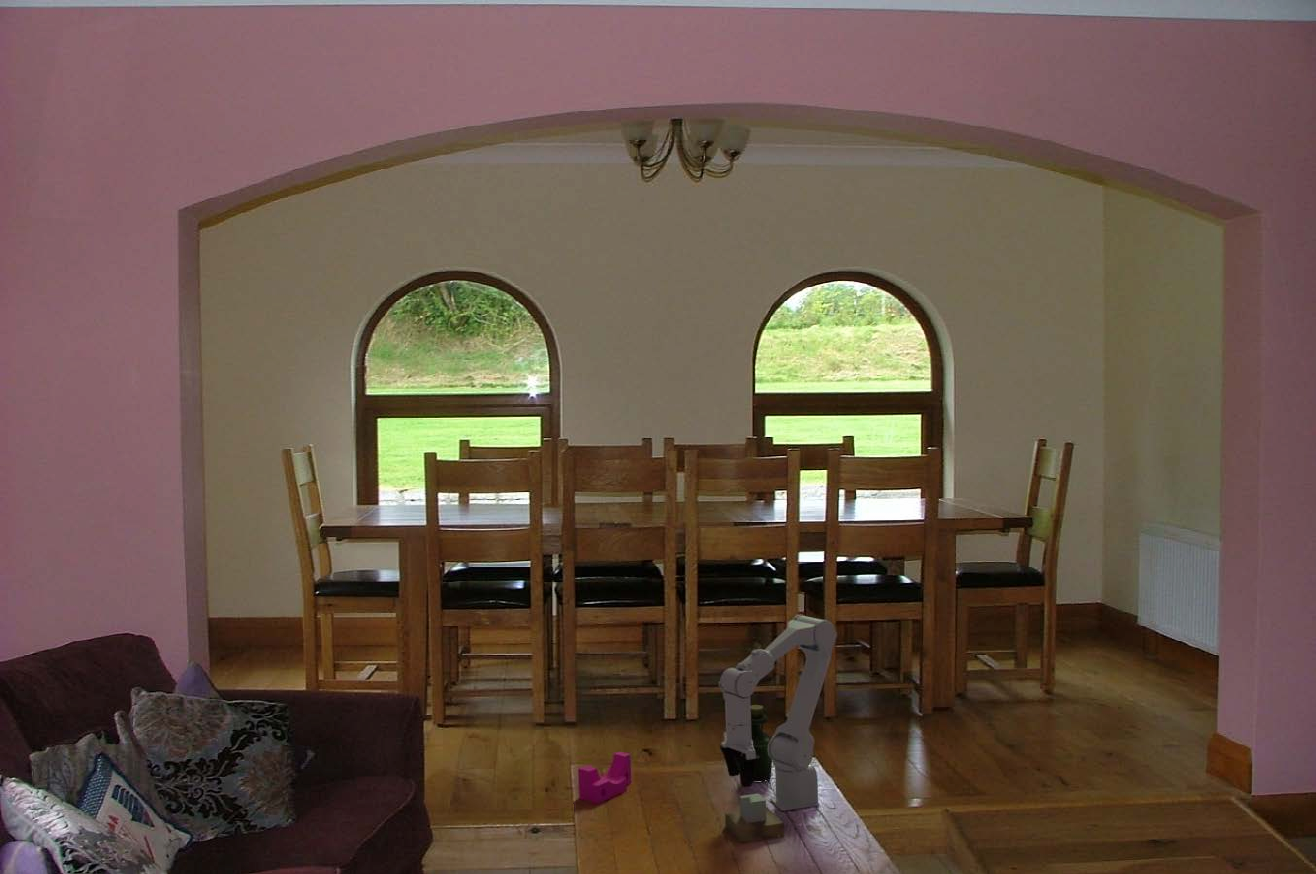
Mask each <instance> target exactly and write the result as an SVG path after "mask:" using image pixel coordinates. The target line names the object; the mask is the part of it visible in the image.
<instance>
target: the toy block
mask: <svg viewBox="0 0 1316 874" xmlns="http://www.w3.org/2000/svg"><path fill="white" fill-rule="evenodd" d="M612 755H613V756H612V757H613V758H612V762H611V765H610V766H609V769H608V770H607V772H606V773H605V774H604V775H602V776H600V774H599V771H598V768H596V767H593V766H590V765H589V766H588V765H583V766H581V767H578V768H577V773H578V776H577V777H578V778H577V779H578V780H577V781H578V799H582V800H584V801H588V802H592V803H595V804H601V803H603V802H604V801H607V800H609V799H612V798H614V797H616V796H618V795H620V794H623V793H625V792H627V791H628V789H627V786H628V785H630V784H632V771H631V770H632V762H631V761H632V760H631V754H630V753H627V752H622V751H617V752H615V753H613V754H612Z"/></svg>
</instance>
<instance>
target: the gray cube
mask: <svg viewBox="0 0 1316 874" xmlns="http://www.w3.org/2000/svg"><path fill="white" fill-rule="evenodd" d="M766 807H767V800H766V799H765V798H764V797H763V796H762V795H761V794H760V793H753V794H746V795H745V794H744V795H739V811H740V816H741V817H742V818H743V819H744V820H745V821H746V822H747V823H752V822H758V821H765V820H766Z"/></svg>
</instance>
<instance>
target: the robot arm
mask: <svg viewBox="0 0 1316 874" xmlns="http://www.w3.org/2000/svg"><path fill="white" fill-rule="evenodd" d="M786 625H787V626H786V628H785V630H783V631H782V632H781V633H780V634H779V635H778V636H777V637H776V638H775V639H774V640H773V641H772V642H771V643H769V645H767V646H766V648H765V649H763V648H758V649H753V650H752V651H751V652H750V653H751V654H749V655H748V656H747V657H746V658H744V660H743V661H741V662H738V663H737V665H736V666H735V667H729V668H727V669H725V670H724V671H723V672H722V674H721V676H720V678H719V681H718V687H719V688H720V691H721V692H722V696H723V697H722V699H724V708H725V709H724V710H725V732H723V734H722V735H723V741H722V742H721V743H720V744H719V745H718V747H719V749H720V751H721V753H722V755H723V757H724V760H725V763H726V768H727V772H728V775H729V777H735V776H736V777H737V776H739V780H740V784H741V787H742V788H748V787H749V788H750V787H752V785H753V783H754V782H753V777H754V773H755V769H756V767H757V765H758V763H759V761H760V757H759V756H758V755H756V752H755V749H754V748H753V741H752V735H751V695H753V694H754V692H755V689H756V687H757V685H758V684H759V681H761V680H763V678H765V676H767V675H768V674H770V673H771V672H772V671H773V670H774V668H775V662H776V661H778V660H779V659H780V658H781V657H783V656H784V655H786V654H787V653H788V652H789V651H791V650H793V649H794V648H795V647H797V646H798V647H799V649H801V651H802V652H803V654H804V655H805V659H806V660H805V662H804V666H803V669H802V671H801V675H800V678H799V681H798V684H797V687H796V691H795V694H794V697H793V700H792V704H791V705H790V709H789V712H788V716H787V719H786V722H784V723H782V724H780V725H778V726H777V727H776V729H775V731H774V734H773V736H771V740H770V741H769V744H768V755H769V757H770V758H771V759H772V766H773V765H774V772H775V773H774V775H775V796H774V797H772V796H771V797H769V800H770V801H771V802H772V803H773V804H774V805H775V806H776V807H777V808H779V810H780V811H782V812H787V811H793V809H794V810H800V809H805V808H812V807H818V806H820V802H819V787H818V786H819V784H818V782H819V780H818V774H817V770H816V768H815V766H814V765H813V764H812V763H811V762H812V761H813V757H814V745H815V742H816V741H815V739H814V737H813V735H812V733H811V732H810V726H811V724H812V720H813V716H814V714H815V712H816V711H815V710H816V707H817V704H818V700H819V697H820V694H821V691H822V688H823V685H824V682H825V678H826V675H827V672H828V669H829V666H830V663H831V659H832V652H833V649H834V645H835V642H836V639H837V637H838V633H837V631H836V629H835V627H834V624H833V623H832V621H830V620H827V619H821V618H815V617H810V616H806V615H804V614H797V615H795V616H794V617H793V618H792V619H791V620H789V621H788V622H787V624H786ZM742 753H743V754H742Z"/></svg>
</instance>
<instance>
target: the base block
mask: <svg viewBox="0 0 1316 874" xmlns="http://www.w3.org/2000/svg"><path fill="white" fill-rule="evenodd" d="M724 815H725V816H724V818H725V819H724V820H725V821H724V822H725V827H726V828H727V830H728V831H729V832H730V833H731V834H732V835H733V836H734V837H735V838H736V840H738V841H739V843H740V844H743V843H749V842H758V841H761V840H762V841H763V840H769V838H770V839H775V838H774V837H776V838H779V837H778V836H783V837H784V836H785V823H784V822H783V820H781V819H780V818H779V817H778V816H777V815H776V814H775V813H774V812H773V811H772V810H770V809H769V807H767V806H766V820H765V821H758V822H752V823H747V822H746V821H745V820H744V819H743V818H742V817H741V816H740V810H739V811H731V812H725V813H724Z"/></svg>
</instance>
